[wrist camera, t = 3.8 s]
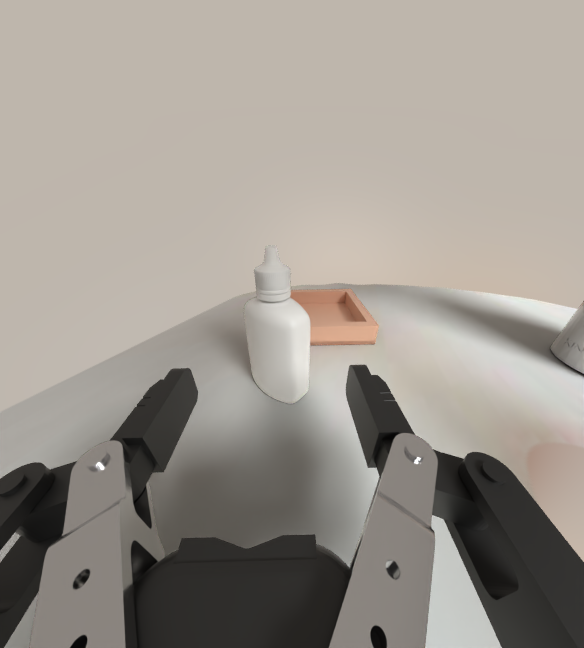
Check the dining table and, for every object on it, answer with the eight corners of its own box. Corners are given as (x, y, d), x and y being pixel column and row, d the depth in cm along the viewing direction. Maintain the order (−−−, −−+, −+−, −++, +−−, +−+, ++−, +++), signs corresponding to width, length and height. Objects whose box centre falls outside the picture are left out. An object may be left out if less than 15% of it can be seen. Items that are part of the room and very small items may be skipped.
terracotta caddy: (349, 303, 35) (350, 289, 34) (374, 344, 24) (378, 325, 23) (277, 304, 35) (276, 290, 34) (272, 346, 24) (271, 327, 23)
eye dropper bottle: (291, 360, 22) (289, 239, 16) (313, 400, 17) (321, 251, 12) (250, 369, 21) (232, 242, 15) (262, 415, 16) (242, 257, 10)
